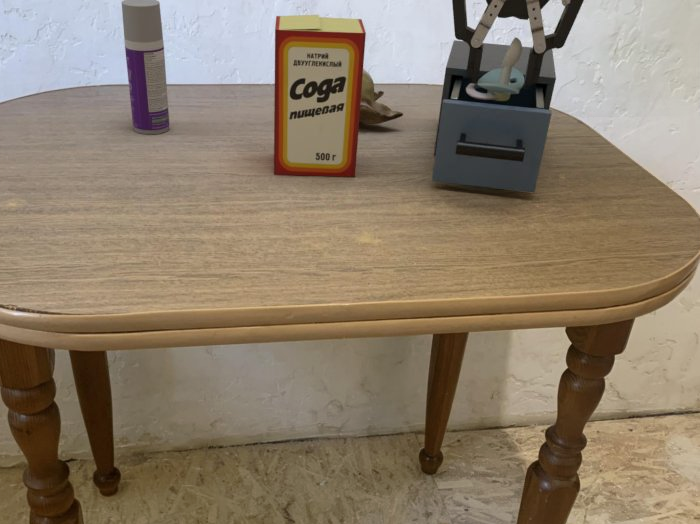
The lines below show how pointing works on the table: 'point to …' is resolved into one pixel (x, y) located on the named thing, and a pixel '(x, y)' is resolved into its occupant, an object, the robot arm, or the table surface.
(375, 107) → the ceramic sculpture
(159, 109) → the container
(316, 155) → the baking soda box
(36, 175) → the table surface
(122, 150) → the table surface
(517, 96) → the drawer
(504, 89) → the pacifier
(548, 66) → the cabinet
